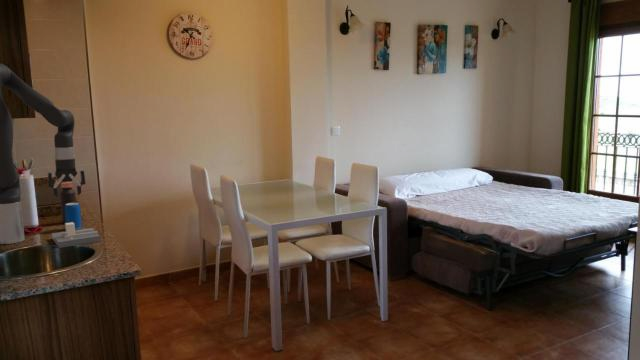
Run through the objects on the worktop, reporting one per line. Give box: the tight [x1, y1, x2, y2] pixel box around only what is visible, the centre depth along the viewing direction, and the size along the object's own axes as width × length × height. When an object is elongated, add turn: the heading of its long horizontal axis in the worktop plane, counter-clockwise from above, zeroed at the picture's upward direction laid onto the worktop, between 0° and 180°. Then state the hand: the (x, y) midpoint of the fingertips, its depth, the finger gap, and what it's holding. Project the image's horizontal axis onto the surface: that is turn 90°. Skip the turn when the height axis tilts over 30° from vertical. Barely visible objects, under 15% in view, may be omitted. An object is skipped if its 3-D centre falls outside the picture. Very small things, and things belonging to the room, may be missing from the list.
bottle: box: [59, 181, 77, 224], centre depth 257 cm, size 7×7×20 cm
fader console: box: [51, 227, 101, 249], centre depth 224 cm, size 16×18×3 cm
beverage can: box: [65, 202, 82, 230], centre depth 244 cm, size 6×6×12 cm
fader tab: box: [64, 222, 75, 235], centre depth 221 cm, size 3×4×5 cm
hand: (67, 195), depth 221 cm, fingers open, 8 cm apart
